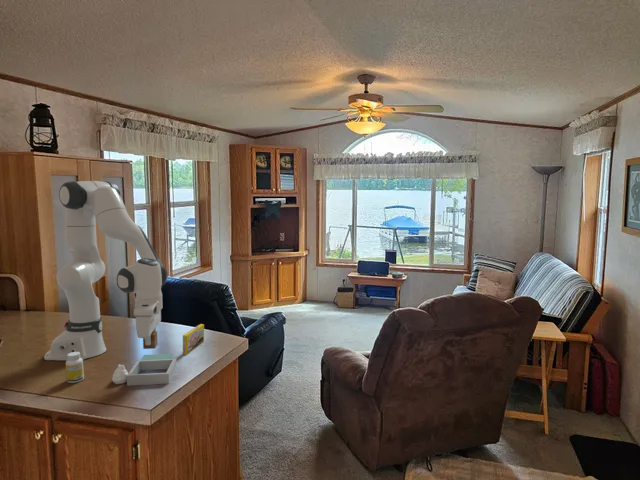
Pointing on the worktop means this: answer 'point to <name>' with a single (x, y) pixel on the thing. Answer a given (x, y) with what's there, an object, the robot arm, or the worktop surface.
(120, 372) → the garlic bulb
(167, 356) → the teal tile
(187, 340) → the candy box
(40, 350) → the worktop surface
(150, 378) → the grey bin
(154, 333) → the walnut block
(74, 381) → the supplement bottle
